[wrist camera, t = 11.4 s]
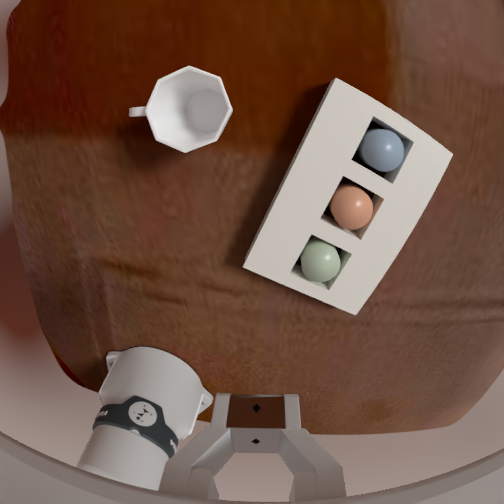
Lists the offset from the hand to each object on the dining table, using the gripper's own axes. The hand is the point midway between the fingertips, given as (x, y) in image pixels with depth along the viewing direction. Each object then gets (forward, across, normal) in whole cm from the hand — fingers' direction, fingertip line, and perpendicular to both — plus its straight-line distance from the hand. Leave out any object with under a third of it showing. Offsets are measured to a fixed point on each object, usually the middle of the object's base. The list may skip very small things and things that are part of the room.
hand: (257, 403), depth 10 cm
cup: (+24, +7, -12) cm, 27 cm away
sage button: (+23, -6, +4) cm, 24 cm away
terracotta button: (+23, -9, -2) cm, 25 cm away
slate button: (+23, -11, -8) cm, 27 cm away
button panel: (+23, -9, -2) cm, 25 cm away
